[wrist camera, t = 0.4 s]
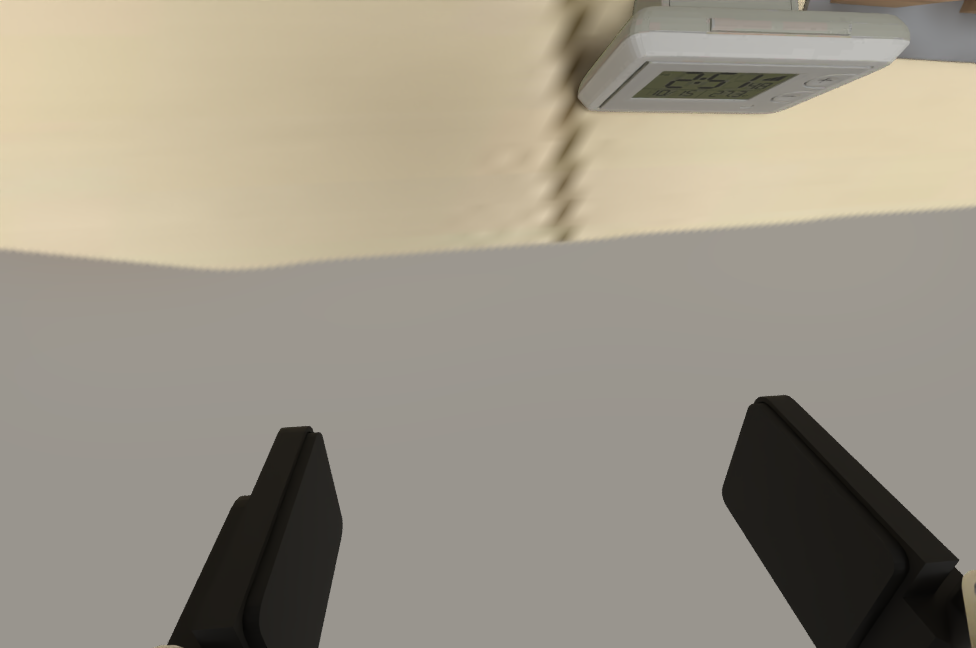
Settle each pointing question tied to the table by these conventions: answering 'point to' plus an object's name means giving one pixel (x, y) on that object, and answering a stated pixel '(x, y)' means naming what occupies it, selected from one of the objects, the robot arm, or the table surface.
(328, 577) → the robot arm
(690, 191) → the table surface
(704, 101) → the digital clock
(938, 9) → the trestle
